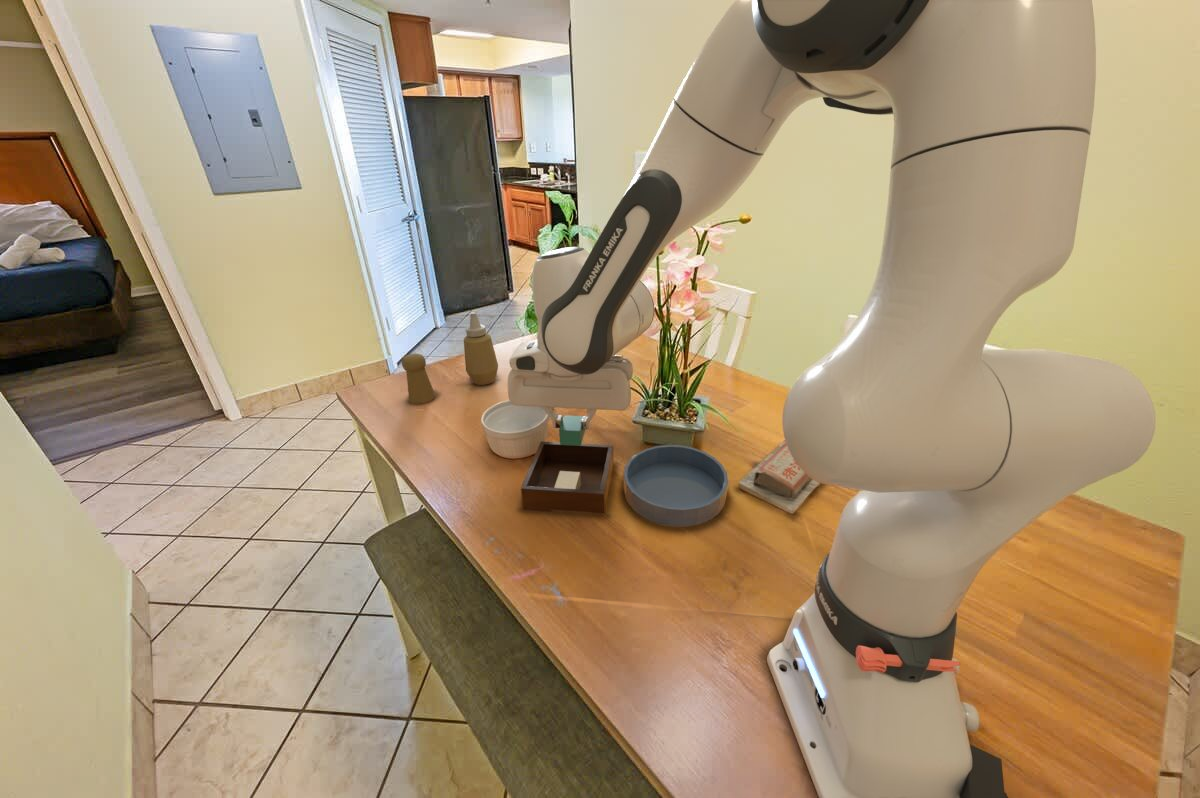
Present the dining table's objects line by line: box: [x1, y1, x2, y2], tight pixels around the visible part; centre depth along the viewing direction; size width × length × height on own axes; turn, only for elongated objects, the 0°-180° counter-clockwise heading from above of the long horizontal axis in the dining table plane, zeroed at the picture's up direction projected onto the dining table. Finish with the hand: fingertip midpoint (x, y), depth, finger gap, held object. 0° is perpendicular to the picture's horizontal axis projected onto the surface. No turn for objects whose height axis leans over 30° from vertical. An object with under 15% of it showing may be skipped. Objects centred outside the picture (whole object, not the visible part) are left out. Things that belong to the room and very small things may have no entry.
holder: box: [520, 441, 615, 514], centre depth 83 cm, size 14×14×4 cm
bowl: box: [623, 444, 729, 528], centre depth 80 cm, size 17×17×4 cm
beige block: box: [554, 471, 581, 489], centre depth 80 cm, size 5×4×3 cm
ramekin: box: [480, 399, 550, 460], centre depth 94 cm, size 13×13×7 cm
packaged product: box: [738, 439, 822, 515], centre depth 83 cm, size 18×5×10 cm
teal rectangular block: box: [558, 415, 586, 446], centre depth 82 cm, size 5×4×3 cm
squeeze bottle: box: [463, 311, 499, 386], centre depth 117 cm, size 8×8×18 cm
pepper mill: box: [401, 353, 436, 405], centre depth 112 cm, size 6×6×11 cm
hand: (571, 427), depth 82 cm, fingers closed on teal rectangular block, 3 cm apart
